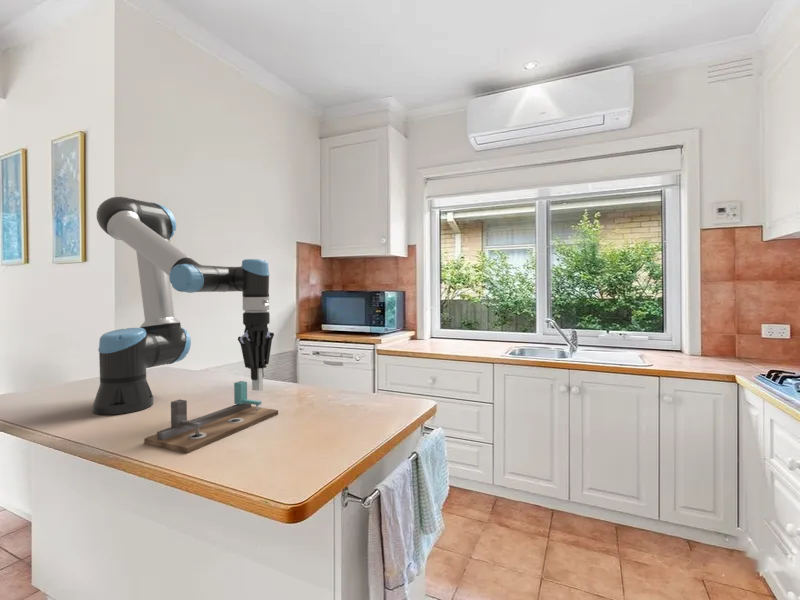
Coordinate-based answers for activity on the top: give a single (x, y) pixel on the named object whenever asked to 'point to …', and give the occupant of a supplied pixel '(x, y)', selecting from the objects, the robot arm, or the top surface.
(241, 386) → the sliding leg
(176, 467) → the top surface
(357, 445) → the top surface
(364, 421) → the top surface
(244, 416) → the board
